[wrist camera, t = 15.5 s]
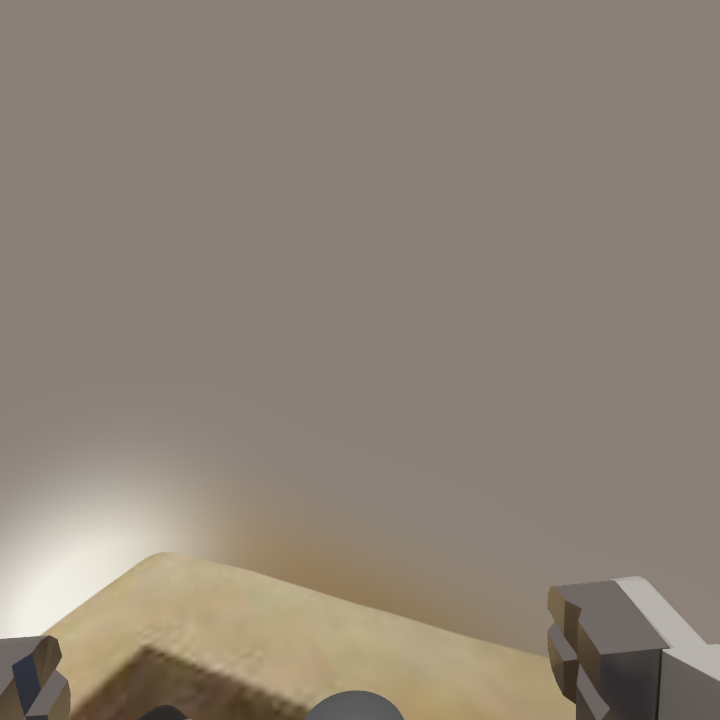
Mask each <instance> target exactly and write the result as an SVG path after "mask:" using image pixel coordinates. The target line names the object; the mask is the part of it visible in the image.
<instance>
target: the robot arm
mask: <svg viewBox="0 0 720 720" xmlns="http://www.w3.org/2000/svg"><path fill="white" fill-rule="evenodd" d="M548 610H549V611H550V613H551V615H552V617H553V618H554V620H555V622H554V623H553V625H552V626H551V627H550V629H549V630H548V633H547V636H548V652H549V658H550V663H551V668H552V671H553V673H554V676H555V679H556V682H557V684H558V686H559V688H560V690H561V692H562V694H563V696H565V697H566V698H568V699H569V700H570V701H572V702H573V703H575V704H576V720H720V645H718V644H712V645H707V644H706V643H705V642H704V641H703V640H702V639H701V637H700V636H699V635H698V634H697V633H696V632H695V631H694V630H693V629H692V628H691V627H690V626H689V625H688V624H687V623H686V622H685V620H683V618H682V617H681V616H680V615H678V613H677V612H676V611H675V610H674V609H673V608H672V607H671V606H670V605H669V604H668V603H667V602H666V601H665V599H664V598H663V597H662V596H661V595H660V594H659V593H658V592H657V591H656V590H655V589H654V588H653V587H652V586H651V585H650V584H649V582H648V581H647V580H646V579H644V578H642V577H640V576H633V577H625V578H617V579H610V580H608V581H601V582H591V583H582V584H572V585H562V586H553V587H550V589H549V593H548ZM61 658H62V654H61V650H60V647H59V643H58V640H57V639H56V638H54V637H52V636H50V635H49V636H35V637H22V638H8V639H0V720H68V717H69V713H70V689H69V684H68V680H67V679H66V678H65V677H63V676H62V675H61V674H60V673H59V672H58V671H57V670H56V667H57V665H58V663H59V662H60V660H61Z"/></svg>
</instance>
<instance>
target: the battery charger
mask: <svg viewBox="0 0 720 720" xmlns="http://www.w3.org/2000/svg"><path fill="white" fill-rule="evenodd" d="M138 720H190V719H188V718H187V717H186V716H185V715H184V714H183V713H182V712H181V711H180V710H178V709H177V708H175V707H174V706H169V705H162V706H158V707H155V708H154V709H152V710H150V711H149V712H147V713H146V714H144V715H143V716H142V717H140V718H139V719H138Z"/></svg>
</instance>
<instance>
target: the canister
mask: <svg viewBox="0 0 720 720" xmlns="http://www.w3.org/2000/svg"><path fill="white" fill-rule="evenodd" d="M304 720H404V719H403V717H402V715H401V713H400V712H399V710H398V709H397V708H396V707H395V706H394V705H393V704H392V703H391V702H390V701H388V700H387V699H385V698H384V697H382V696H380V695H377V694H375V693H371V692H367V691H346V692H341V693H338V694H335V695H332V696H330V697H328V698H326V699H324V700H323V701H321V702H320V703H319V704H317V705H316V706H315V707H314V708H313V709H312V710H311V711H310V712H309V713H308V715H307V716H306V717H305V719H304Z"/></svg>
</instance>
